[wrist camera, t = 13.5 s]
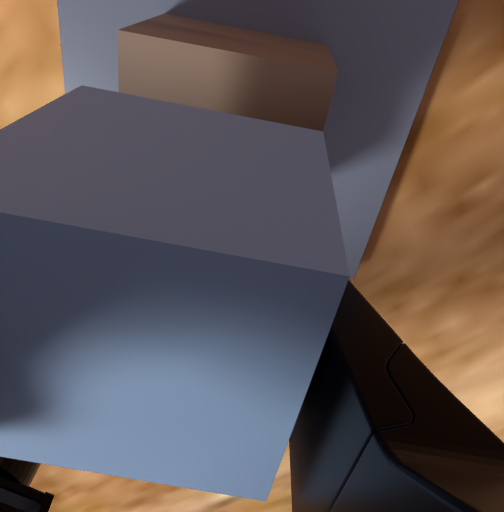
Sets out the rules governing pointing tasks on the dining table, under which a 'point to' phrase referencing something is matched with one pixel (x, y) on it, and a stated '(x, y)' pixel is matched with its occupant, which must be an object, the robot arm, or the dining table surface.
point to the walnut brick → (227, 70)
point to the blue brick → (162, 288)
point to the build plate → (346, 87)
